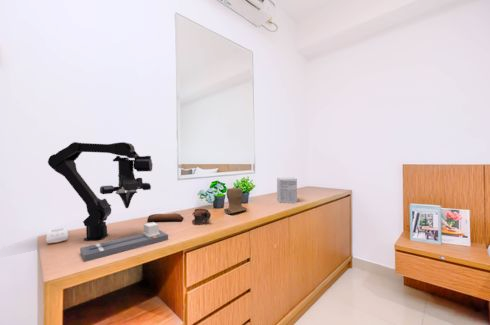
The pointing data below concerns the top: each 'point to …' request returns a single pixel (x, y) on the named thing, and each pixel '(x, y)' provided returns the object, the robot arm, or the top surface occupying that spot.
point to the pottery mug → (201, 216)
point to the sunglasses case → (165, 217)
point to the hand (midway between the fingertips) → (126, 207)
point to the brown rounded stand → (234, 201)
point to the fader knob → (151, 229)
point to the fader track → (119, 245)
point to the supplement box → (287, 190)
